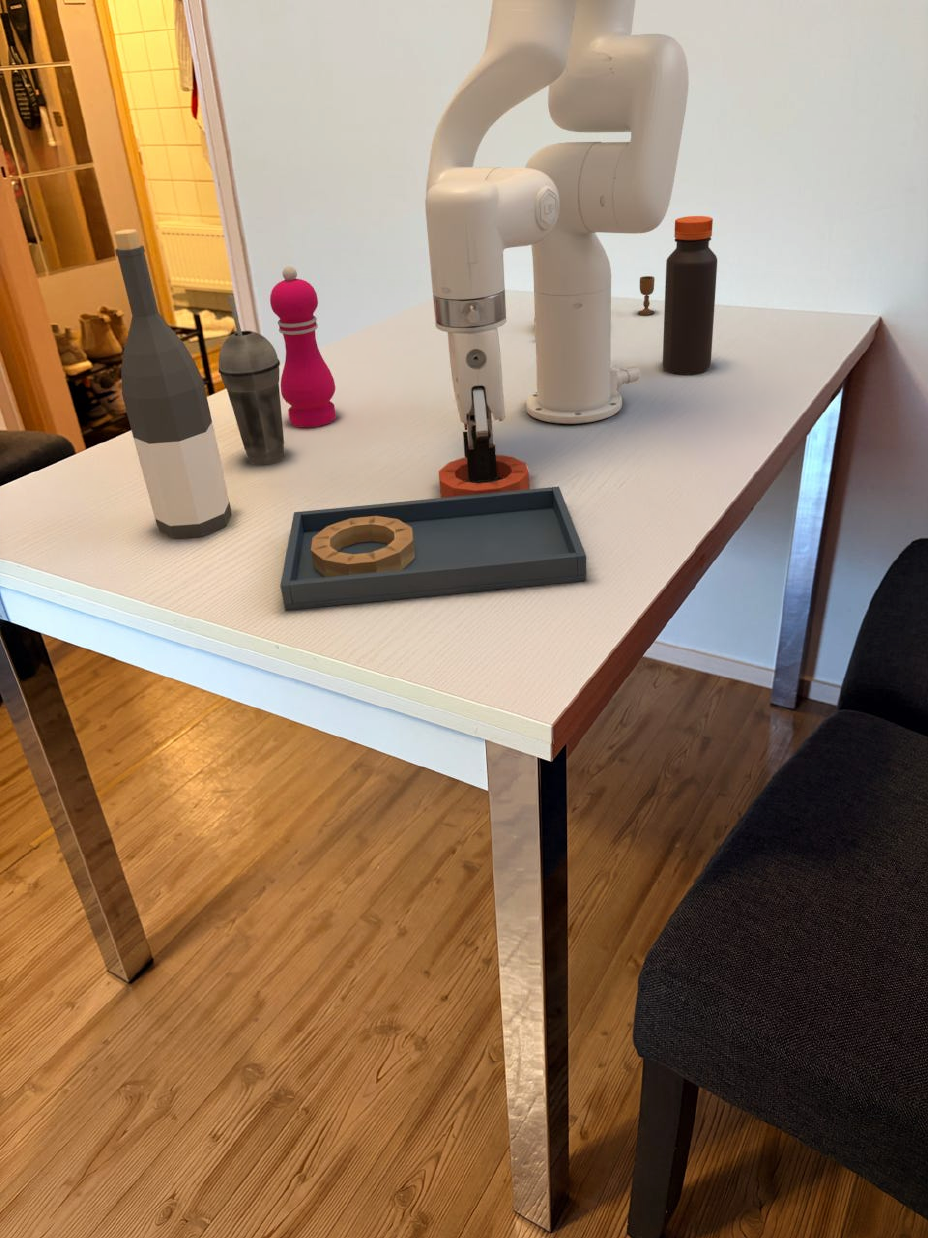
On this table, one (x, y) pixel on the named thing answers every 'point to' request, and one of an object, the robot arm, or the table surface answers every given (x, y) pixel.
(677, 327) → the vinegar
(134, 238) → the wine bottle
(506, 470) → the terracotta ring
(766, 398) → the table surface
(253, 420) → the beverage cup
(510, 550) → the tray
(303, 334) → the pepper mill
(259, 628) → the table surface
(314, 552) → the birch ring
